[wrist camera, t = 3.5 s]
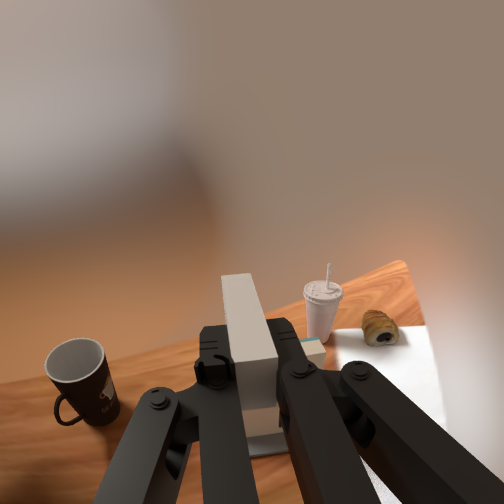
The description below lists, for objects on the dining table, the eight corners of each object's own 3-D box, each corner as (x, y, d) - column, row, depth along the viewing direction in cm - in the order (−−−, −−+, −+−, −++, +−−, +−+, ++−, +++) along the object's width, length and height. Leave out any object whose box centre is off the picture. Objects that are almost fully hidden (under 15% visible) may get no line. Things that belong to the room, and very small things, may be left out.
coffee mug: (100, 380, 38) (79, 330, 34) (139, 404, 34) (117, 352, 30) (51, 423, 28) (18, 373, 24) (86, 456, 24) (49, 408, 21)
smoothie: (339, 348, 45) (351, 273, 40) (301, 349, 46) (307, 273, 40) (332, 326, 51) (341, 256, 46) (298, 327, 52) (302, 256, 46)
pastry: (354, 318, 53) (357, 301, 52) (385, 317, 53) (389, 300, 51) (365, 348, 45) (370, 331, 43) (400, 346, 44) (406, 329, 43)
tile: (230, 439, 29) (219, 366, 24) (228, 423, 32) (217, 348, 27) (311, 426, 31) (326, 352, 26) (305, 412, 33) (317, 336, 28)
